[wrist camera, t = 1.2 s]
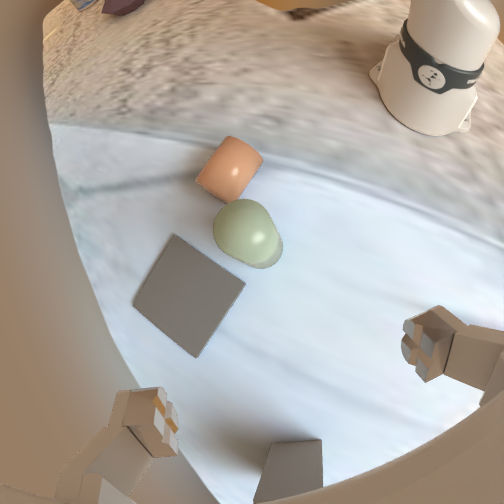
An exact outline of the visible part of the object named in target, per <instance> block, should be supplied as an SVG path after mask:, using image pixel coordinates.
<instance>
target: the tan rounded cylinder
mask: <svg viewBox="0 0 504 504" xmlns="http://www.w3.org/2000/svg"><path fill="white" fill-rule="evenodd" d="M262 163H263V159H262V157H261V156H260V154H259V153H258V152H257V151H256V150H255V149H253V148H252V147H251V146H249V145H248V144H247V143H245V142H243V141H241V140H239V139H237V138H235V137H231V136H227V137H225V139H224V140H223V141H222V143H221V144H220V146H219V147H218V148H217V150H216V151H215V152H214V154H213V155H212V156H211V158H210V159H209V161H208V162H207V163H206V165H205V166H204V168H203V169H202V171H201V172H200V173H199V175H198V176H197V178H196V179H195V182H196V183H197V184H198V185H200V186H201V187H202V188H203V189H205V190H206V191H208V192H209V193H210V194H212V195H213V196H215V197H217V198H218V199H220V200H222V201H223V202H225V203H227V204H228V203H230V202H232V201H235V200H237V199H238V198H239V197H240V195H241V194H242V192H243V191H244V189H245V188H246V186H247V185H248V183H249V182H250V180H251V179H252V177H253V176H254V174H255V173H256V172H257V170H258V169H259V167H260V166H261V164H262Z"/></svg>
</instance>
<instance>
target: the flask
mask: <svg viewBox="0 0 504 504" xmlns="http://www.w3.org/2000/svg"><path fill="white" fill-rule="evenodd" d="M144 1H145V0H105V3H104V6H103V9H102V13H105V14H115V15H126V14H128V13H130V12H132V11H134V10H136V9H137V8H138V7H140V6H141V5H142V4H143V3H144Z"/></svg>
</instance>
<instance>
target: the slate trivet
mask: <svg viewBox="0 0 504 504" xmlns="http://www.w3.org/2000/svg"><path fill="white" fill-rule="evenodd" d="M245 285H246V283H244V282H243V281H241V280H240V279H238V278H237V277H235V276H234V275H232V274H231V273H229V272H228V271H226V270H225V269H224V268H222V267H221V266H219V265H218V264H216V263H215V262H213V261H212V260H210V259H209V258H208V257H206V256H205V255H203V254H202V253H200V252H199V251H197V250H196V249H195V248H193V247H192V246H190V245H189V244H187V243H186V242H185V241H183V240H182V239H180V238H179V237H178V236H176V235H174V237H173V238H172V240H171V241H170V243H169V245H168V246H167V248H166V249H165V251H164V253H163V254H162V256H161V258H160V259H159V261H158V263H157V264H156V266H155V268H154V269H153V271H152V273H151V274H150V276H149V278H148V279H147V281H146V283H145V285H144V286H143V288H142V290H141V292H140V293H139V295H138V297H137V299H136V300H135V302H134V304H133V306H134V307H135V308H136V309H137V310H138V311H139V312H140V313H141V314H142V315H144V316H145V317H146V318H147V319H148V320H149V321H151V322H152V323H153V324H154V325H155V326H156V327H158V328H159V329H160V330H161V331H162V332H163V333H165V334H166V335H167V336H168V337H170V338H171V339H172V340H173V341H174V342H176V343H177V344H178V345H179V346H181V347H182V348H183V349H184V350H186V351H187V352H188V353H189V354H191V355H192V356H193V357H195V358H197V357H198V356H199V355H200V353H201V352H202V350H203V349H204V347H205V346H206V344H207V343H208V341H209V340H210V338H211V337H212V335H213V334H214V332H215V331H216V329H217V328H218V326H219V325H220V323H221V322H222V320H223V319H224V317H225V316H226V314H227V313H228V311H229V310H230V308H231V307H232V305H233V304H234V302H235V301H236V299H237V297H238V296H239V294H240V293H241V291H242V290H243V288H244V287H245Z"/></svg>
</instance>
